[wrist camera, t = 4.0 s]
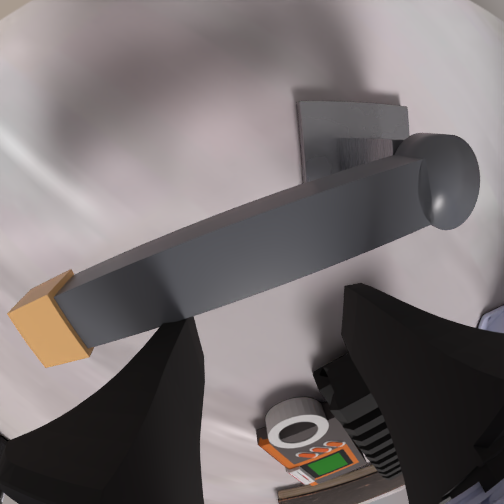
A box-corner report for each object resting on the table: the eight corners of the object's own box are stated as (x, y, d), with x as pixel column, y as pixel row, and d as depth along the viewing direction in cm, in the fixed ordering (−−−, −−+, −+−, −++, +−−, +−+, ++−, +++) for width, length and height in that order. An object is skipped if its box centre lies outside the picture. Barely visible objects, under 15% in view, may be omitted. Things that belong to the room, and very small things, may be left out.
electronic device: (328, 404, 17) (368, 467, 22) (318, 376, 20) (360, 447, 25) (241, 438, 18) (310, 490, 23) (239, 410, 20) (305, 470, 25)
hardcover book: (275, 487, 27) (278, 501, 25) (433, 432, 28) (440, 443, 26) (284, 512, 33) (287, 523, 31) (407, 472, 34) (411, 481, 32)
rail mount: (416, 426, 25) (433, 455, 21) (369, 452, 26) (383, 483, 21) (387, 311, 18) (426, 357, 13) (304, 360, 18) (325, 416, 14)
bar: (454, 203, 9) (486, 216, 7) (67, 344, 9) (50, 373, 8) (442, 126, 8) (477, 129, 6) (27, 282, 8) (2, 306, 7)
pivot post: (401, 107, 13) (468, 103, 8) (403, 212, 15) (464, 243, 10) (296, 102, 12) (339, 83, 7) (305, 222, 14) (346, 264, 10)
